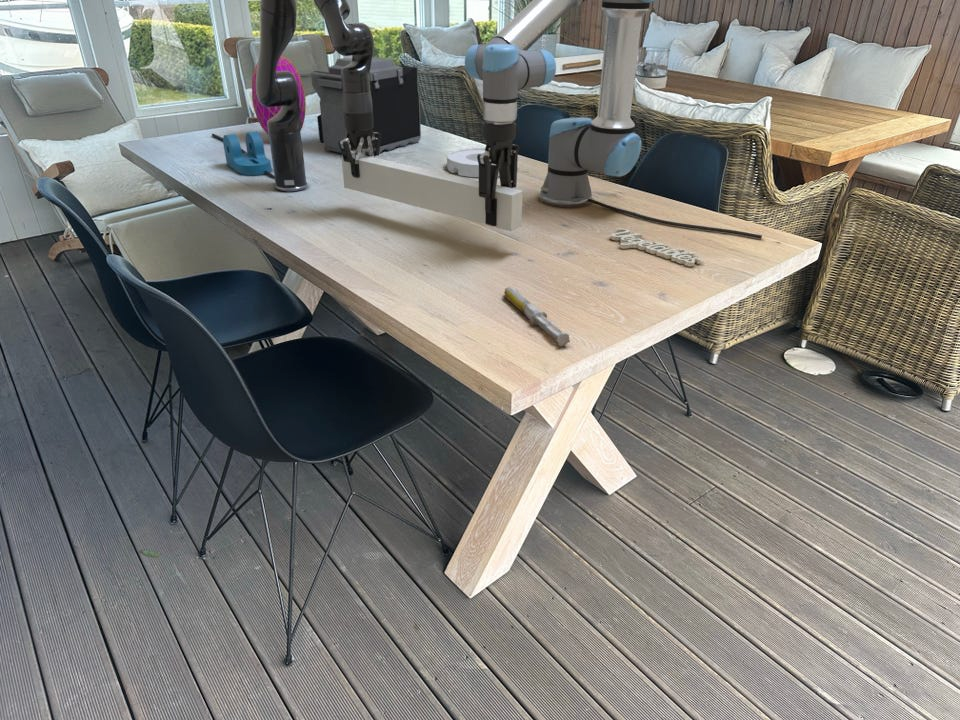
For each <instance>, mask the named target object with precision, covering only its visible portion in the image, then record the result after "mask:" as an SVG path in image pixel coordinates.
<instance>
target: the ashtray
mask: <svg viewBox="0 0 960 720" xmlns="http://www.w3.org/2000/svg"><path fill="white" fill-rule="evenodd" d="M485 148H486V147H468V148H459V149H456V150H452V151H451V152H448V153H447V154H446V168H447V171H449V172H450V173H451V174H457V176H460V177H466V178H479V164H478V160H477V156H478V154H481V155H482V154H483V153H484V152H485ZM493 165H496V164H493ZM498 177H500V176H499V172H498Z"/></svg>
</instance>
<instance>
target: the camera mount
mask: <svg viewBox="0 0 960 720" xmlns="http://www.w3.org/2000/svg"><path fill="white" fill-rule="evenodd" d="M222 138H223V141H222V143H223V149H224V150H223V151H224V156H225V161H226V165H227V166H228V167H230V168H231V169H232V170H234V171H236V172H237V173H238V174H239V175H244V176H260V175H266V174H265V173H264V172H265V170H266V171H268V172H269V173H271V172H272V164H271V159H270V158H268V157H267V156H266V153H265V145H264V141H263V139H262V136H261V134H260V132H258V131H247V132H246V133H245V146H246V152H247V153H242V150H241V149H242V146H241V142H240V140H239V138H238V135H236V134H235V133H231V134H224V135H223V137H222Z"/></svg>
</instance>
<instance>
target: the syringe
mask: <svg viewBox="0 0 960 720" xmlns="http://www.w3.org/2000/svg"><path fill="white" fill-rule="evenodd" d="M504 297H505V298H506V299H507V300H508V301H509V302H510V303H512V305H513V306H515V307H516V308H517V309H518V310H519V311H520V312H521V313H522V314H523V316H525V317H526V318H527V319H528V320H529V323H530V324H531V326H538V327H540V328H541V329H542V330H543V331H544V332H545V333H547V335H549V336H550V337H551V338H552V339H553V340H554V341H555V342H556V343H557V345H558V346H559V347H560V348H561V347H565V346H567V345H568V344H569V343H570V342H571V339H570V334H569V333H567V332H565V333H564V332H563V331H562V330H561V329H560V328H559V327H558V326H556V325H555V324H554V323H552V321H550V320H548V315H547V313H546V312H545V311H541V310H540V309H538V308H537V306H535V305H534V304H533V303H531V301H529V300H528V299H527V298H526V297H524V296H523V295H522V294H521V293H520V292H519V291H518V290H517V289H516V288H515V287H514V286H512V285H511V286H508V287H507V286H506V287H505V288H504Z"/></svg>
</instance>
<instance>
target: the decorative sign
mask: <svg viewBox="0 0 960 720" xmlns="http://www.w3.org/2000/svg"><path fill="white" fill-rule="evenodd" d="M642 237H643V234H642V233H631V229H628V228H627V229H626V228H619V227H618V228H617V229H616V232H613V233H611V234H610V240H612V241H616V242H618V241H619V249H638V250H640V251H645V252H646V253H648V254H651V255H656V256H657V257H661V258H663V259H666V260H671V262H674V263H675V262H676V263H678V264H679V265H680V264H682V265H684V266H686V267H694V266H695V264H697V265H700V264H701V261H702V259H701V258H700V257H695V252H694V251H685V248H681V247H679V248H671V249H670V247H669V245H667V244H666V243H665V242H664V243H663V242H657V241H653V242H652V241H647V240H644V239H642Z"/></svg>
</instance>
